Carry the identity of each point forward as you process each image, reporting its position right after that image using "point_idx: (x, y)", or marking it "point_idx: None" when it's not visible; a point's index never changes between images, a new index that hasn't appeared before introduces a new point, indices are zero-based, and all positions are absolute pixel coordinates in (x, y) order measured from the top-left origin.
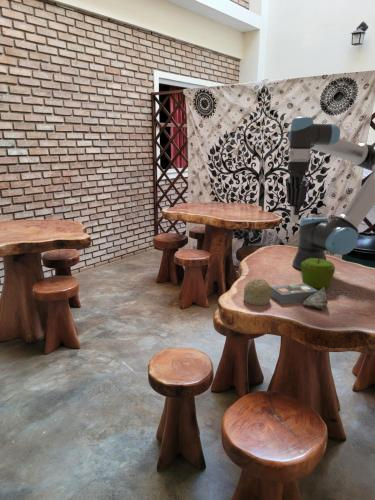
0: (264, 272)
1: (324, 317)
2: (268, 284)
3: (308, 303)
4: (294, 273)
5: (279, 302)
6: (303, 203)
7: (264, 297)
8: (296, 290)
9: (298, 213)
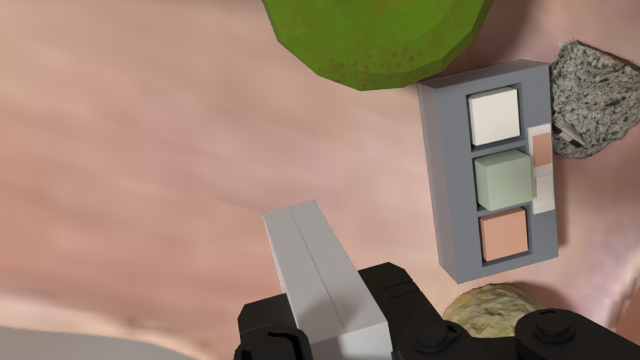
0: (64, 209)
1: None
2: None
3: (599, 144)
4: (77, 8)
5: None
6: (599, 340)
7: None
8: (537, 182)
9: (406, 283)
